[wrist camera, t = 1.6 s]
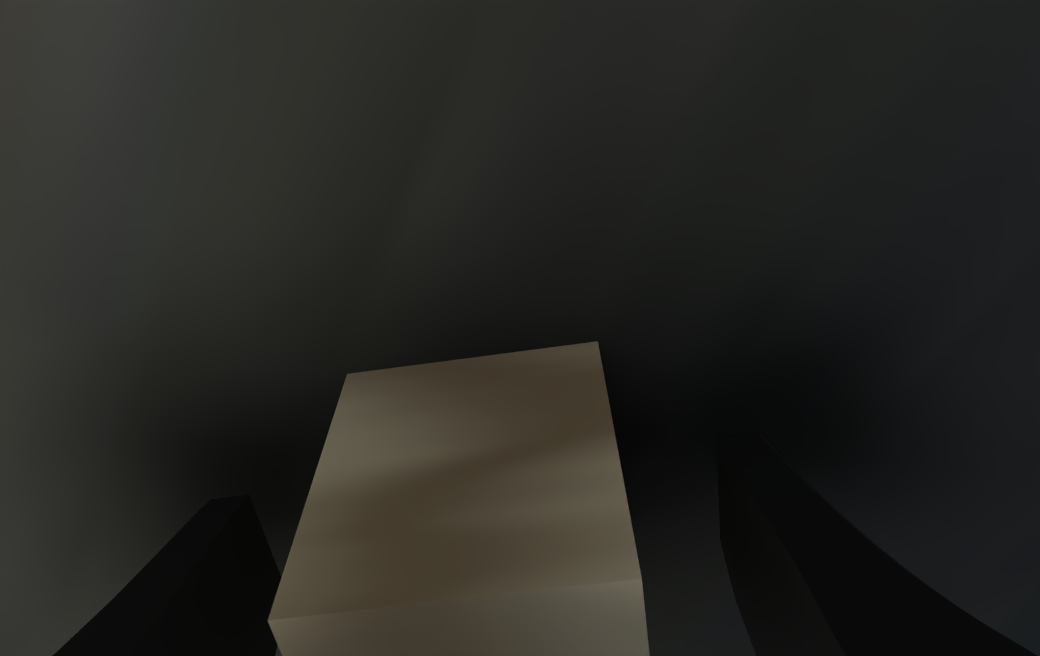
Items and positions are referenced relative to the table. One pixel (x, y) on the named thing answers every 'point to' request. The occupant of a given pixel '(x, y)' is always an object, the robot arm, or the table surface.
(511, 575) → the maple block
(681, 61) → the table surface
